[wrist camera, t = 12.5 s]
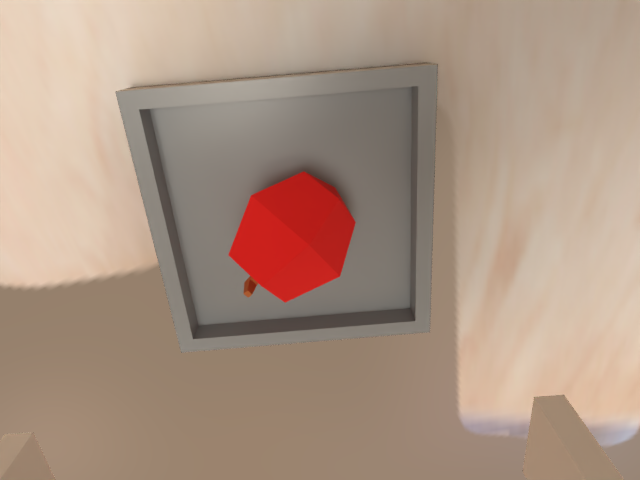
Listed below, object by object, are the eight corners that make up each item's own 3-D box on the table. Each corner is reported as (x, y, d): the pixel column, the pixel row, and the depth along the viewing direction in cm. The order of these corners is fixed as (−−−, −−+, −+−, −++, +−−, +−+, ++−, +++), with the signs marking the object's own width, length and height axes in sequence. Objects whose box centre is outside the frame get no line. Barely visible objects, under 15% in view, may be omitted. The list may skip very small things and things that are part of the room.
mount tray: (427, 62, 25) (437, 64, 23) (422, 314, 32) (429, 332, 30) (130, 87, 25) (115, 91, 23) (189, 333, 32) (181, 352, 30)
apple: (323, 150, 21) (208, 276, 20) (398, 237, 24) (302, 347, 24) (275, 138, 27) (184, 235, 26) (341, 210, 30) (262, 297, 30)
